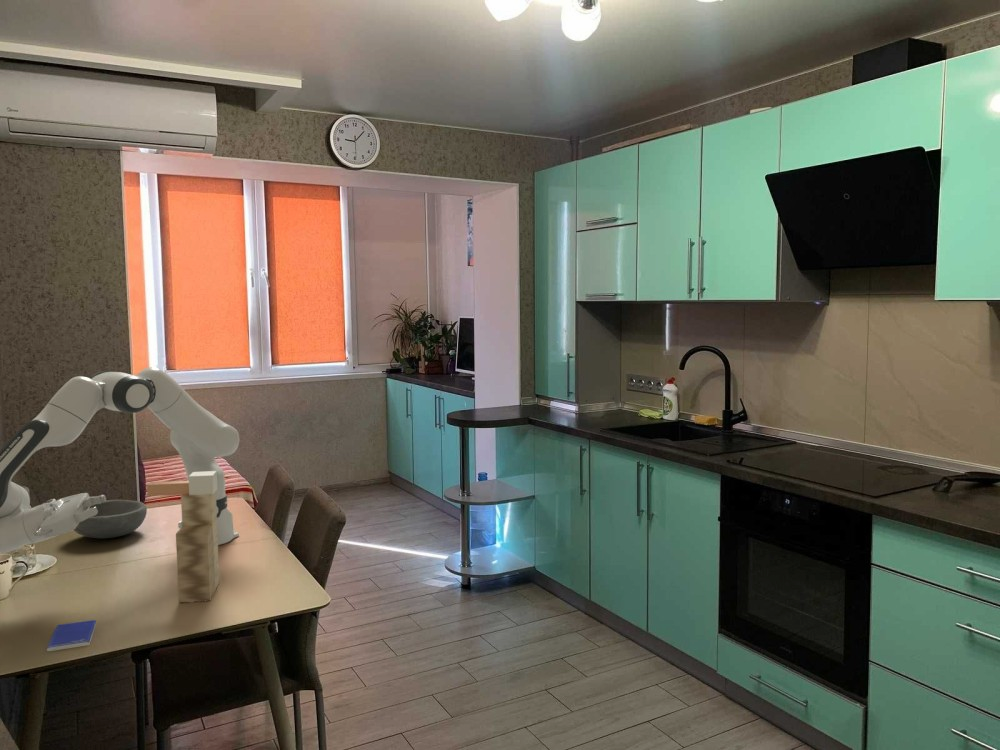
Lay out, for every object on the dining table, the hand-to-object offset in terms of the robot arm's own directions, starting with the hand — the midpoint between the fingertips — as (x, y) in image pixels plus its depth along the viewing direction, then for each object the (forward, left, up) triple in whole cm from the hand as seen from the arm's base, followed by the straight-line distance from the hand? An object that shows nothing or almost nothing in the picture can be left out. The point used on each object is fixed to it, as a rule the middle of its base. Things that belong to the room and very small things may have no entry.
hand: (100, 504), depth 193 cm
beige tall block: (+13, +20, -24) cm, 34 cm away
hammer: (+8, +18, +2) cm, 20 cm away
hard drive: (+24, -10, -25) cm, 36 cm away
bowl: (-56, +9, -24) cm, 62 cm away
